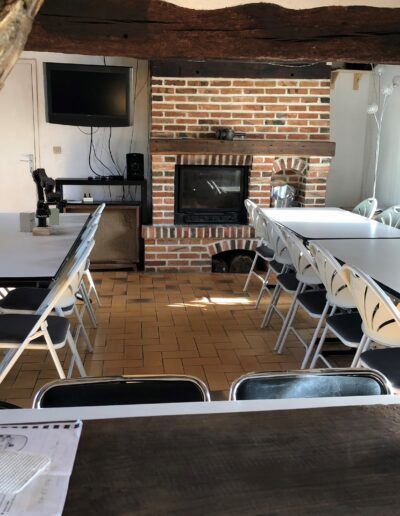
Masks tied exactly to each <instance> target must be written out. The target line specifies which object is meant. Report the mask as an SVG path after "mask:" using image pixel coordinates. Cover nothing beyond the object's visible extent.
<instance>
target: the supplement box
mask: <svg viewBox="0 0 400 516" xmlns="http://www.w3.org/2000/svg"><path fill="white" fill-rule="evenodd" d="M35 213H36V211H21V212H19V232H23V233H25V232H26V233H32V232H33V228H34V227H36V217H35Z"/></svg>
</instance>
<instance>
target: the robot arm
mask: <svg viewBox="0 0 400 516" xmlns="http://www.w3.org/2000/svg"><path fill="white" fill-rule="evenodd" d="M31 178H32V180H33V182H34V183H35V186H36V194H37V195H36V196H37V202H36V209H35V219H37V225H36V227H39V228H48V227H49V225H48V224H47V223H48V221H47V219H49V214H50V215H51V212H50V209H49V208H50V206H56V208H58V209H59V214H61V213H60V211H61V210H62V209H64V208H67V205H68V200H67V199H66V198H65V199H60V201H57V200H58V198H59V197H60V196H61V193H60V191H54V190H55V188H56V184H57V183H56V182H57V181H56V180H55V179H54V178H53V177H51V176H50V177H49V176H48V175H47V172H46V169H45V168H43V167H38V168H36V169H35V170H32V172H31Z"/></svg>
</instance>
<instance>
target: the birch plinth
mask: <svg viewBox="0 0 400 516" xmlns="http://www.w3.org/2000/svg"><path fill="white" fill-rule="evenodd" d="M50 234H51V227H37V226H35V227H34V228H33V231H32V237H33V236H35V237H39V236H40V237H41V236H43V237H45V236H46V237H47V236H48V237H49V236H50Z"/></svg>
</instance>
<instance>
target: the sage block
mask: <svg viewBox="0 0 400 516" xmlns="http://www.w3.org/2000/svg"><path fill="white" fill-rule="evenodd" d="M49 209H50V212H51V215H50V214H49V218H48V219H49V225H51V226H60V213H59V209H58V208H57V207H54V208H53V207H52V208H50V207H49Z"/></svg>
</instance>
